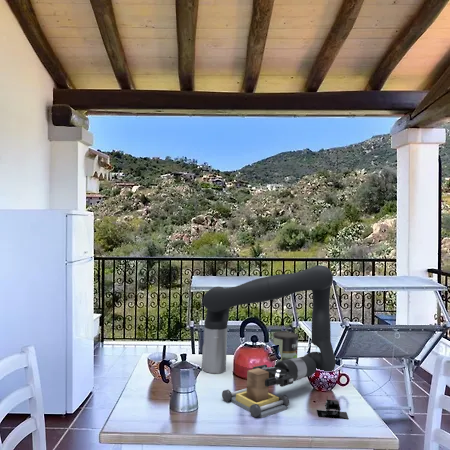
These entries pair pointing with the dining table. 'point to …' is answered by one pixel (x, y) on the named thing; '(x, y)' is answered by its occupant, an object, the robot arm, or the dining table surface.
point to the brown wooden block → (257, 385)
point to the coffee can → (286, 344)
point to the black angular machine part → (332, 414)
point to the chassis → (259, 408)
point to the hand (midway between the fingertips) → (256, 379)
